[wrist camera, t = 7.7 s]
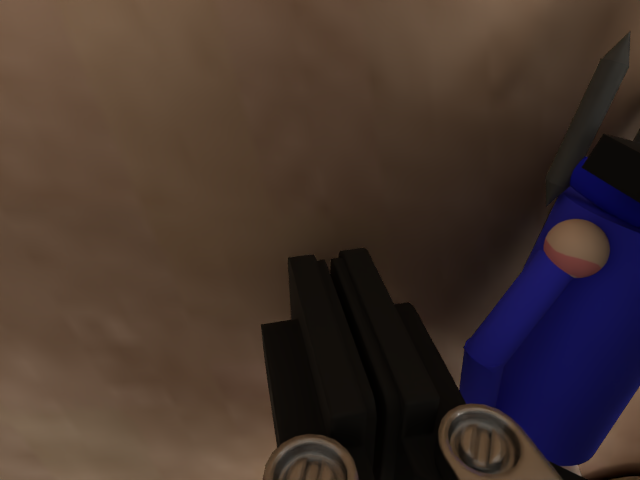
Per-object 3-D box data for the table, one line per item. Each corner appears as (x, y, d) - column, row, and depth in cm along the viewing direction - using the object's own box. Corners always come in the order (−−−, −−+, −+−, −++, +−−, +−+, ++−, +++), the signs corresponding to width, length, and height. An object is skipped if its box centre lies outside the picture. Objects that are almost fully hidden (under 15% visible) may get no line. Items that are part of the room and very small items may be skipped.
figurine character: (531, -119, 8) (303, 510, 14) (1799, -185, 2) (520, 898, 8) (699, -9, 12) (463, 448, 18) (1340, 62, 6) (684, 688, 12)
